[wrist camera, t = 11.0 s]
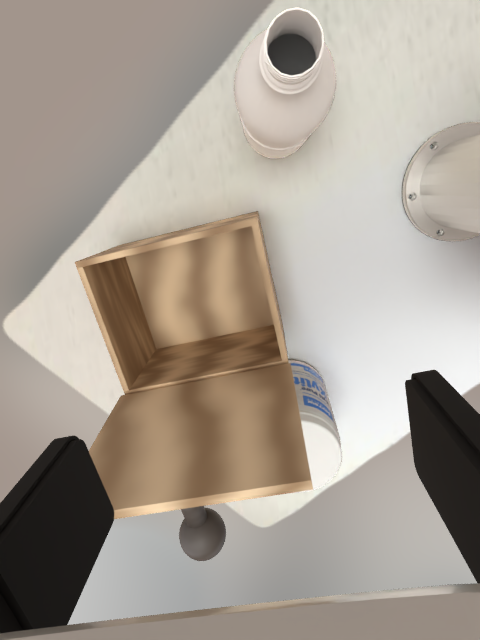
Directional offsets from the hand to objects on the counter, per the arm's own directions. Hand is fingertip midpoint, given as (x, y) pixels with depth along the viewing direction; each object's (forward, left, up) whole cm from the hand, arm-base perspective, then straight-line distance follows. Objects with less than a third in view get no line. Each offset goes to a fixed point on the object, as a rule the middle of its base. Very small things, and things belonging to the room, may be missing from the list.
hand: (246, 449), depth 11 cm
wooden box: (+8, +3, -38) cm, 39 cm away
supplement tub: (0, +20, -38) cm, 43 cm away
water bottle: (-5, -13, -38) cm, 41 cm away
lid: (+8, +11, -18) cm, 23 cm away
